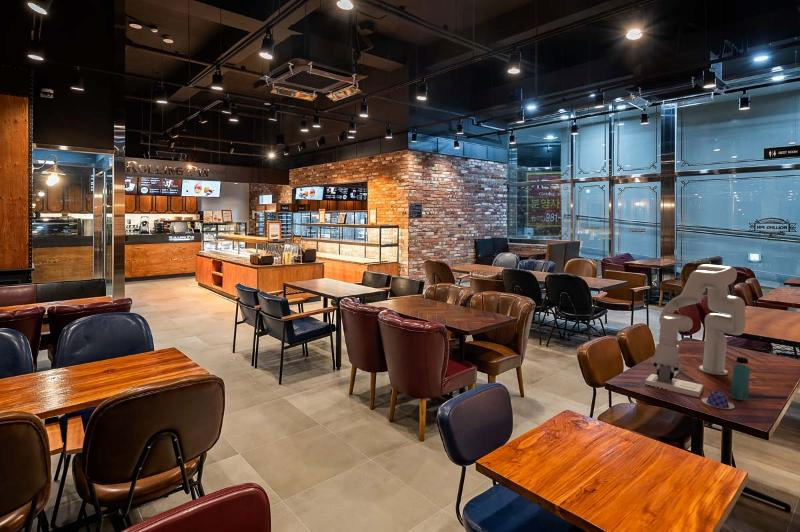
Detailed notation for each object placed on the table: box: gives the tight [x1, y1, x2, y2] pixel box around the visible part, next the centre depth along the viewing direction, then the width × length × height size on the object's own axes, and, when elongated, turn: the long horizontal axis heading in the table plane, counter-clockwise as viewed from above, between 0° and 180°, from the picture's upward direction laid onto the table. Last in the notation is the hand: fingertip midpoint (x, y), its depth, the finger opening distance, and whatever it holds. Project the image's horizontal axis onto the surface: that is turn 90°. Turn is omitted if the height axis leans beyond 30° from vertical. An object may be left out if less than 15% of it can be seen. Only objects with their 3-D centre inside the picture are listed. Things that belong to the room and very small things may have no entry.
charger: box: [659, 364, 671, 383], centre depth 218 cm, size 4×4×9 cm
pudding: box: [701, 390, 735, 410], centre depth 197 cm, size 12×12×5 cm
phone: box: [674, 370, 680, 379], centre depth 235 cm, size 13×7×1 cm, turn 138°
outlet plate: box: [645, 373, 704, 398], centre depth 216 cm, size 12×22×3 cm, turn 49°
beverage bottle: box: [730, 356, 751, 401], centre depth 200 cm, size 6×7×20 cm
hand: (665, 377), depth 219 cm, fingers closed on charger, 4 cm apart
